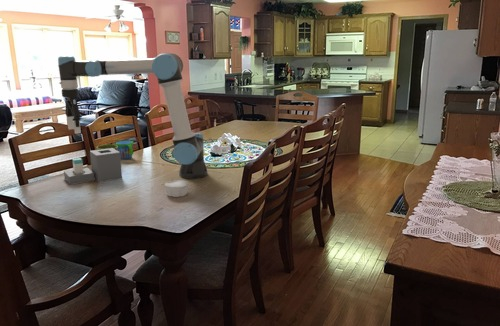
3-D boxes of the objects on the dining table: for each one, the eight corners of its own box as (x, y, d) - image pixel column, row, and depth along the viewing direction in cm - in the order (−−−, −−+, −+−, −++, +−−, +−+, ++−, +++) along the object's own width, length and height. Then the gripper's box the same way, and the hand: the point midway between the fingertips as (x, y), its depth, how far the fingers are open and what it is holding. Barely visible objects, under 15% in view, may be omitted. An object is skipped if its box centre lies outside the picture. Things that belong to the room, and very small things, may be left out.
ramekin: (178, 188, 198) (177, 178, 197) (194, 193, 192) (193, 182, 190) (160, 194, 190) (159, 183, 189) (175, 199, 183) (175, 188, 182)
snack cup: (112, 156, 257) (111, 141, 254) (128, 154, 263) (127, 139, 261) (122, 161, 245) (121, 145, 242) (138, 159, 252) (137, 143, 249)
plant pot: (97, 168, 231) (95, 149, 228) (98, 163, 242) (97, 144, 239) (118, 167, 234) (117, 148, 231) (119, 162, 245) (118, 143, 242)
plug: (84, 179, 211) (82, 159, 208) (76, 181, 208) (74, 160, 205) (82, 177, 214) (80, 157, 211) (74, 179, 211) (72, 158, 209)
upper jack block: (122, 177, 214) (119, 152, 210) (98, 181, 207) (96, 155, 203) (114, 172, 223) (112, 147, 220) (92, 176, 217) (89, 150, 213)
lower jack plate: (94, 180, 210) (93, 172, 209) (70, 184, 203) (69, 176, 202) (88, 174, 219) (87, 167, 218) (64, 178, 212) (63, 171, 211)
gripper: (56, 87, 206) (61, 128, 212) (67, 91, 187) (72, 136, 192) (71, 86, 211) (76, 126, 216) (84, 90, 191) (89, 134, 197)
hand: (74, 131), depth 204 cm, fingers open, 13 cm apart
